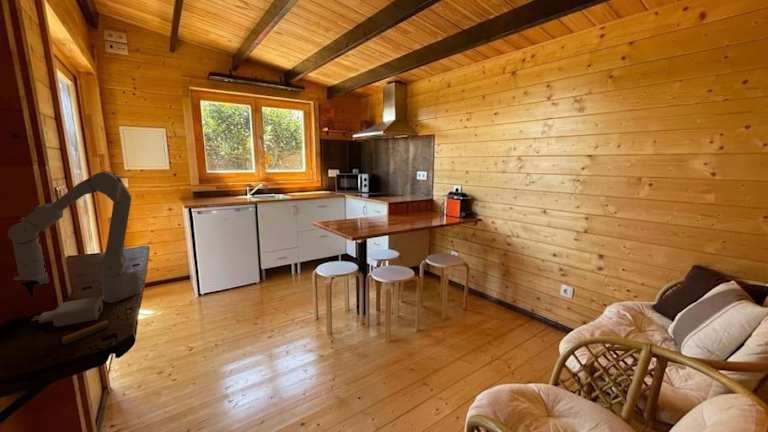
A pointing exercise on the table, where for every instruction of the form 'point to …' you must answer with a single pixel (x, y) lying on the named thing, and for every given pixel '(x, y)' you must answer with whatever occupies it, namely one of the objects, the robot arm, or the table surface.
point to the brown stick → (85, 332)
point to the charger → (73, 312)
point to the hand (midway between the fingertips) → (37, 301)
